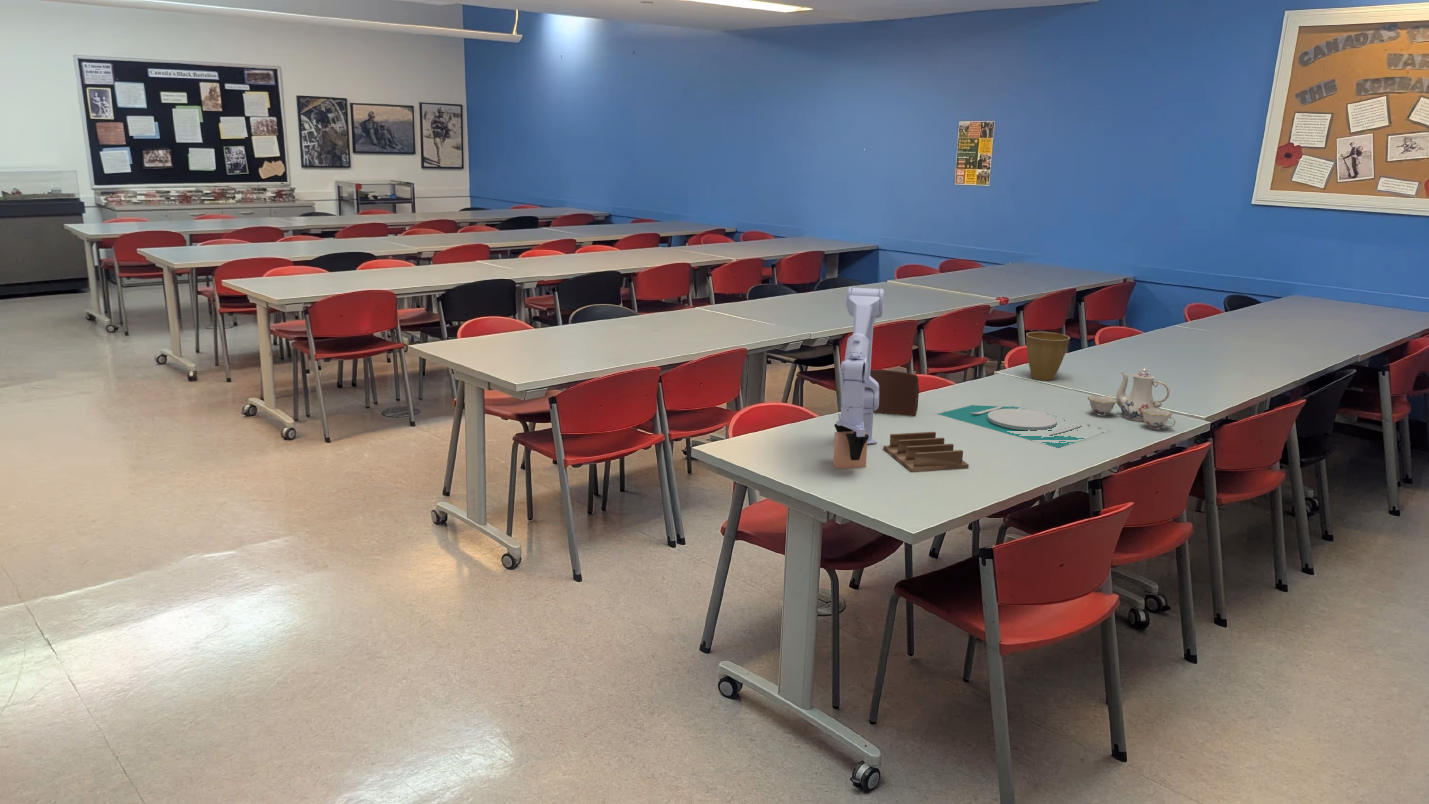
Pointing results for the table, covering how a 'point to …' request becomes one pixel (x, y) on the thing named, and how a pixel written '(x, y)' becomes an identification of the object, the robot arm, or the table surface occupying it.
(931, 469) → the dish rack
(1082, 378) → the table surface
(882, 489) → the table surface
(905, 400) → the letter holder
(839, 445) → the orange-brown angular block
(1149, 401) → the chinaware
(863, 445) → the robot arm
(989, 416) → the place mat
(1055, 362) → the plant pot
